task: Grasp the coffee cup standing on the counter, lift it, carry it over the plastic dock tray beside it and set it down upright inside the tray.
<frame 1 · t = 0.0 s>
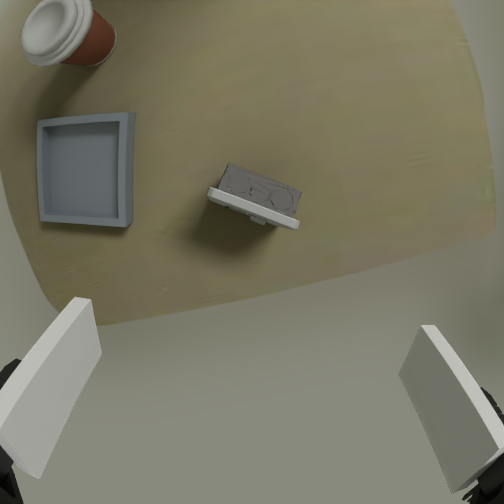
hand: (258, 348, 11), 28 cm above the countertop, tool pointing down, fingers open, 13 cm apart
electrical switch: (251, 191, 37), on the countertop
coffee cup: (96, 44, 29), on the countertop
dock tray: (86, 167, 35), on the countertop
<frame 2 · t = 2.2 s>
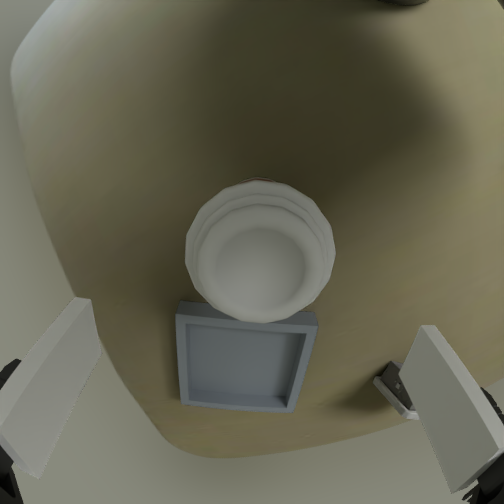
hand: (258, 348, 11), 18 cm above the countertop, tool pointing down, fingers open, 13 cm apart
electrical switch: (404, 369, 36), on the countertop
coffee cup: (258, 211, 28), on the countertop
dock tray: (242, 357, 34), on the countertop
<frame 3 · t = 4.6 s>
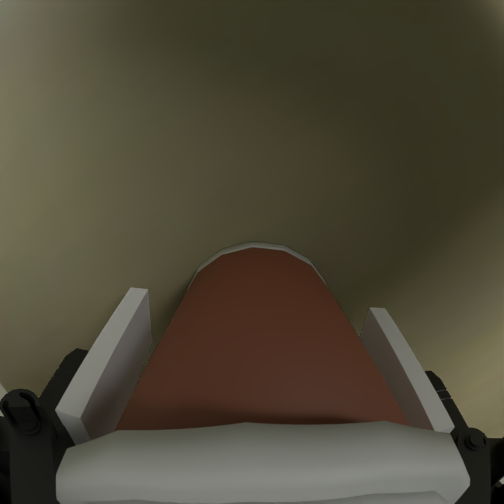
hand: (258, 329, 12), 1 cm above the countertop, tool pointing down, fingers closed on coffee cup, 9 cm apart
coffee cup: (257, 306, 14), on the countertop, touching gripper
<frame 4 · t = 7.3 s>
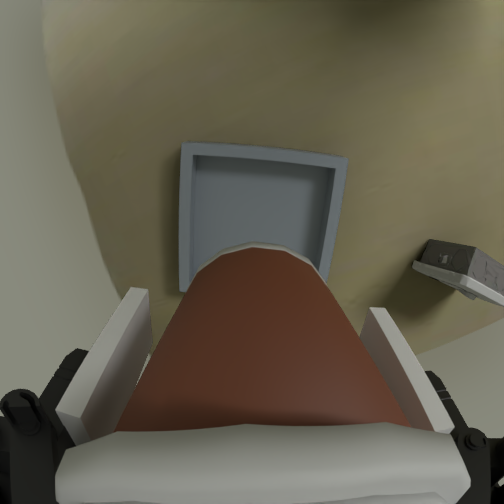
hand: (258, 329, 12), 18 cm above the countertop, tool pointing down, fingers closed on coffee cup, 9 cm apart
electrical switch: (444, 256, 31), on the countertop
coffee cup: (257, 307, 14), point 16 cm above the countertop, touching gripper
dock tray: (258, 220, 29), on the countertop
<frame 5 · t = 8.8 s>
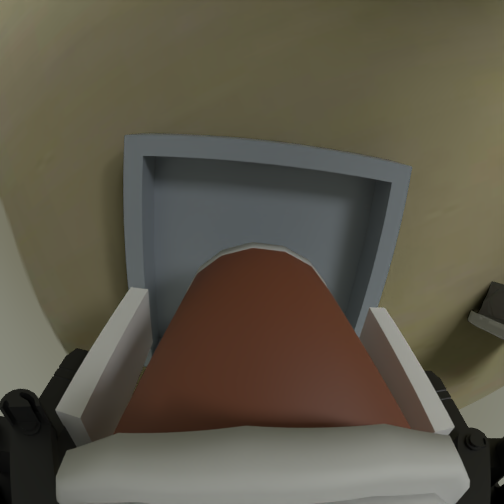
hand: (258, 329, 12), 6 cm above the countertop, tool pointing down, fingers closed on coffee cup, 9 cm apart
electrical switch: (502, 301, 20), on the countertop
coffee cup: (257, 307, 14), point 5 cm above the countertop, touching gripper
dock tray: (257, 262, 18), on the countertop
when the fingers open (3 cm above the countertop, at t = 10.2 s): coffee cup drops 1 cm, resting on dock tray.
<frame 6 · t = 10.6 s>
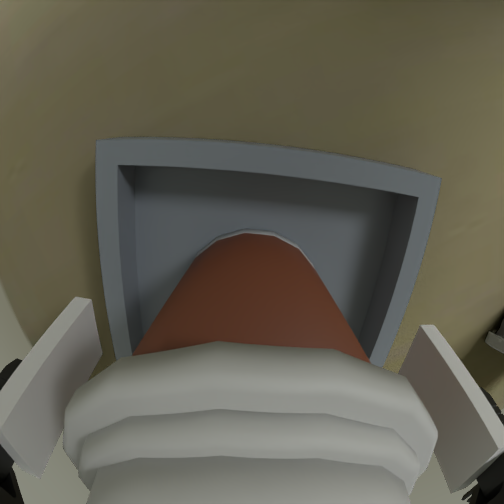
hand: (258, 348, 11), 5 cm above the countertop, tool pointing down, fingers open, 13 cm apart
coffee cup: (251, 289, 15), resting on dock tray
dock tray: (256, 287, 16), on the countertop
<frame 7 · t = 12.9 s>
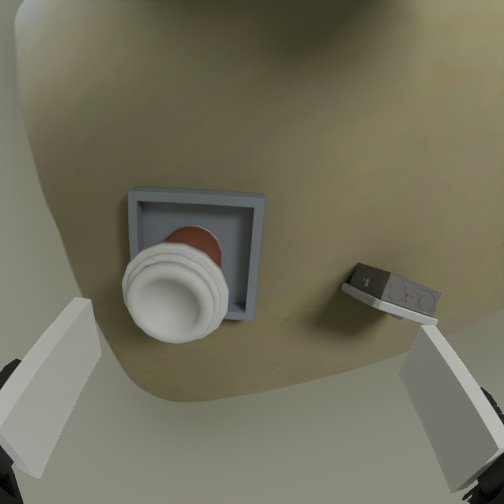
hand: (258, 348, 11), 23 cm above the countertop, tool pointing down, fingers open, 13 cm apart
electrical switch: (376, 278, 36), on the countertop
coffee cup: (193, 251, 34), resting on dock tray
dock tray: (195, 251, 35), on the countertop
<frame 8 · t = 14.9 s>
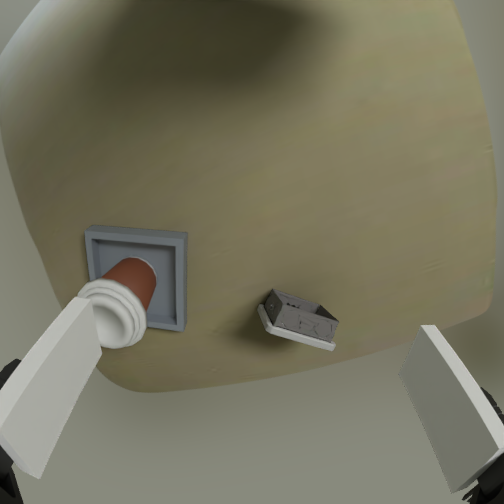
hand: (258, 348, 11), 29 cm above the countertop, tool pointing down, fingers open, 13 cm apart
electrical switch: (292, 301, 44), on the countertop
coffee cup: (136, 275, 42), resting on dock tray
dock tray: (139, 275, 42), on the countertop
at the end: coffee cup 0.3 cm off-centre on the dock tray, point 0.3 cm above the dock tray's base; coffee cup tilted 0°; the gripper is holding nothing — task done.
